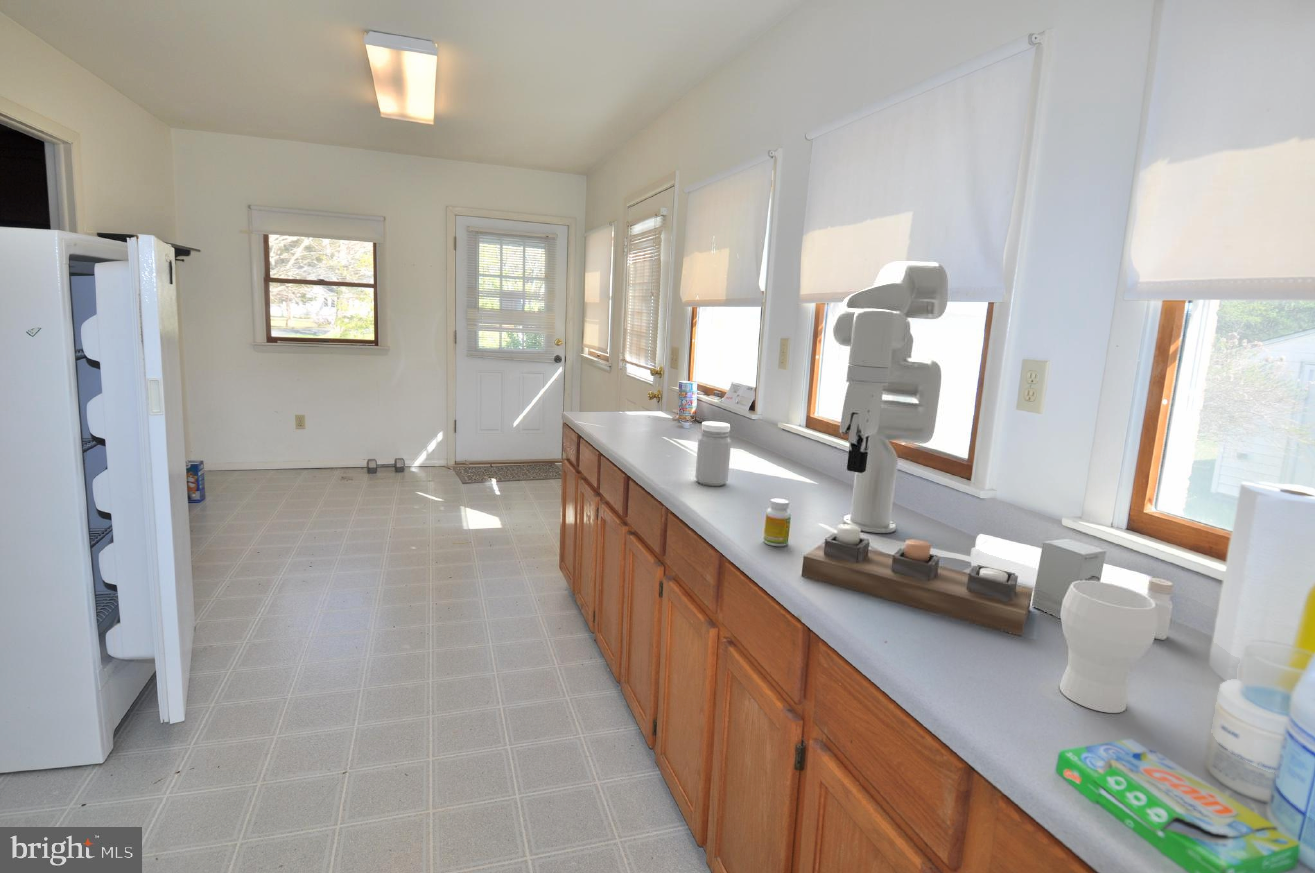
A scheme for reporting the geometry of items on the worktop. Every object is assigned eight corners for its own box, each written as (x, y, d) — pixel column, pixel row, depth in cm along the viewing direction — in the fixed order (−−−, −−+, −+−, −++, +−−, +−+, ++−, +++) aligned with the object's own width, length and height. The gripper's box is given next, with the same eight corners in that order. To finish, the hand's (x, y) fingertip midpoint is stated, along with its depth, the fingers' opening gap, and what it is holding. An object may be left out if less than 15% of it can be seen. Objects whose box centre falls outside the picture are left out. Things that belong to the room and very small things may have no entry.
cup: (1124, 687, 95) (1144, 587, 93) (1151, 728, 85) (1174, 617, 83) (1040, 670, 99) (1057, 573, 96) (1057, 707, 89) (1076, 600, 86)
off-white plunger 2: (979, 581, 121) (982, 566, 121) (1006, 588, 119) (1009, 572, 118) (975, 589, 117) (978, 572, 117) (1003, 596, 115) (1006, 579, 115)
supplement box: (1070, 623, 116) (1083, 554, 114) (1029, 606, 123) (1041, 540, 121) (1095, 617, 120) (1108, 550, 118) (1054, 601, 126) (1066, 536, 124)
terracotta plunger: (906, 552, 128) (908, 537, 127) (931, 558, 125) (933, 543, 125) (900, 558, 124) (903, 543, 124) (925, 564, 122) (928, 549, 121)
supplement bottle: (787, 548, 146) (792, 505, 144) (762, 545, 147) (767, 502, 145) (788, 540, 151) (792, 499, 149) (763, 537, 152) (768, 496, 150)
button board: (826, 557, 142) (829, 525, 141) (1029, 609, 121) (1035, 572, 120) (801, 575, 130) (805, 541, 129) (1021, 636, 110) (1028, 595, 109)
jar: (693, 484, 198) (697, 424, 195) (696, 477, 207) (701, 419, 204) (726, 488, 196) (731, 427, 193) (728, 480, 206) (733, 422, 203)
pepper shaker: (1166, 642, 112) (1177, 588, 110) (1136, 634, 114) (1147, 581, 112) (1163, 633, 115) (1174, 580, 113) (1135, 626, 117) (1145, 574, 115)
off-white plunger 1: (839, 537, 135) (841, 522, 134) (861, 542, 132) (863, 527, 132) (832, 542, 131) (834, 527, 130) (854, 547, 129) (856, 532, 128)
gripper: (859, 373, 134) (849, 462, 137) (835, 374, 122) (823, 473, 125) (898, 376, 130) (886, 469, 133) (876, 379, 118) (863, 481, 121)
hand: (856, 471), depth 129 cm, fingers closed
